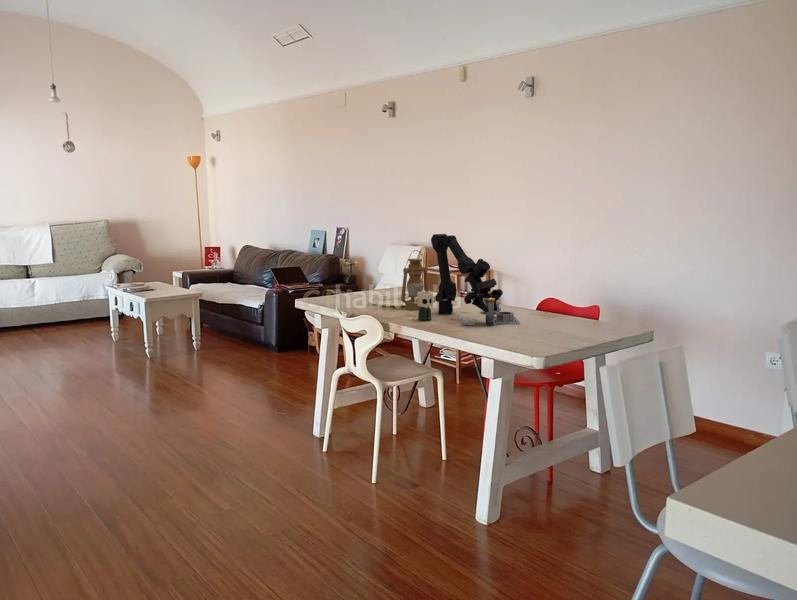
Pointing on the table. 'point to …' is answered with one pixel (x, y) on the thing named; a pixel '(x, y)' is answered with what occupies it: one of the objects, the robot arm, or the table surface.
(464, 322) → the loose bracket
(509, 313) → the silver bolted socket base
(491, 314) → the copper-capped metal post
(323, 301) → the table surface
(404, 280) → the lantern
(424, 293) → the big-eyed figurine
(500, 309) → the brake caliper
